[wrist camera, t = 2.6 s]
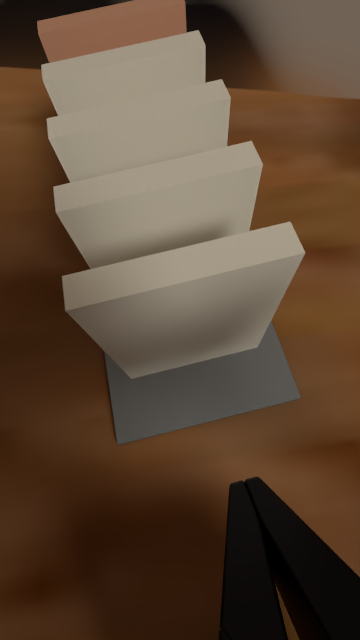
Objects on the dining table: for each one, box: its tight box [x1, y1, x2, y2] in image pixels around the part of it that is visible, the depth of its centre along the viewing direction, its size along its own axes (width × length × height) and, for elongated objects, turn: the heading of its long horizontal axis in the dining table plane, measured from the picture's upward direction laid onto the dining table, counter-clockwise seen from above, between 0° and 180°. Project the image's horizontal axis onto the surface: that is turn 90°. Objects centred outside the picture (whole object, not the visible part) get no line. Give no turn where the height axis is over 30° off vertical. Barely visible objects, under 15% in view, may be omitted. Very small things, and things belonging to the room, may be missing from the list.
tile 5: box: [37, 0, 186, 63], centre depth 26 cm, size 2×10×12 cm, turn 103°
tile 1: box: [62, 222, 305, 379], centre depth 18 cm, size 2×10×12 cm, turn 103°
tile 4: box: [41, 31, 205, 116], centre depth 24 cm, size 2×10×12 cm, turn 103°
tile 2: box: [53, 141, 263, 269], centre depth 20 cm, size 2×10×12 cm, turn 104°
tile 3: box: [47, 79, 231, 183], centre depth 22 cm, size 2×10×12 cm, turn 103°
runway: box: [104, 321, 301, 445], centre depth 28 cm, size 32×13×1 cm, turn 13°
